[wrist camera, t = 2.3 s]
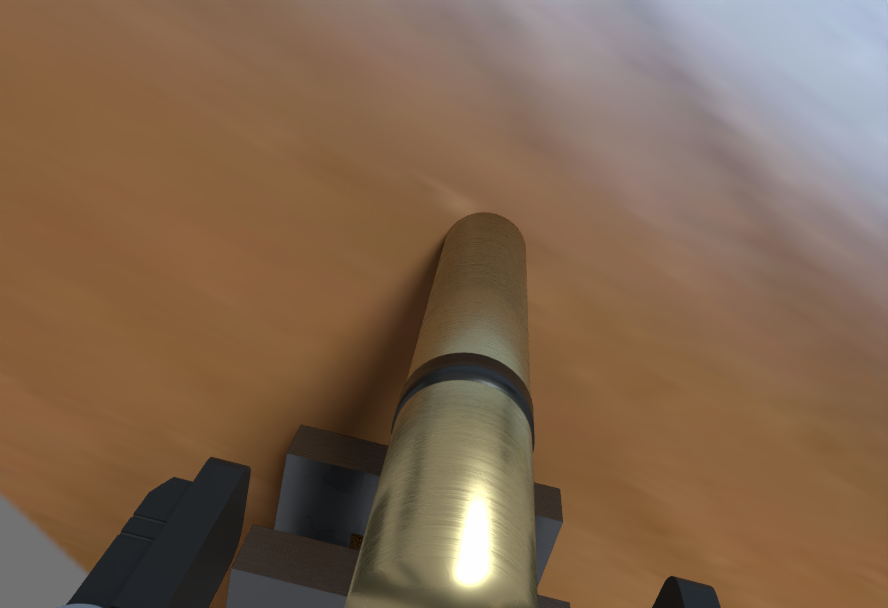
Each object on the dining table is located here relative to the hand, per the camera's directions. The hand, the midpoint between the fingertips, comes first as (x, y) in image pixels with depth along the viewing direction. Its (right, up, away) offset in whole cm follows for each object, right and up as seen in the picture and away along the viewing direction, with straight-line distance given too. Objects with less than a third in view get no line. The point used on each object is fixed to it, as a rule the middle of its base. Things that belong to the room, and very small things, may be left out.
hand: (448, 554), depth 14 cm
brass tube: (+2, +7, +15) cm, 16 cm away
